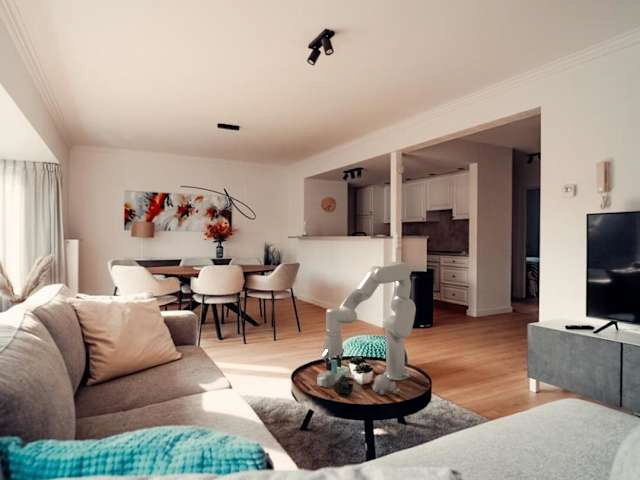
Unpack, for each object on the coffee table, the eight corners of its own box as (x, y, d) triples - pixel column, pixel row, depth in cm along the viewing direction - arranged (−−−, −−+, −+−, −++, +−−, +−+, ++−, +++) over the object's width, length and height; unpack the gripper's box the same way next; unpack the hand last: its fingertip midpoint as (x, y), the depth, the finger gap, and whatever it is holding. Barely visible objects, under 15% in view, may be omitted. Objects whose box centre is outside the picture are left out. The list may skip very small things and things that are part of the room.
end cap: (339, 388, 188) (339, 374, 189) (353, 389, 186) (353, 375, 186) (333, 395, 179) (333, 381, 179) (348, 397, 177) (348, 382, 177)
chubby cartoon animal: (395, 402, 177) (402, 385, 177) (370, 391, 178) (377, 374, 178) (394, 396, 184) (401, 379, 184) (370, 385, 186) (377, 369, 185)
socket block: (349, 378, 201) (349, 367, 201) (342, 381, 197) (342, 370, 197) (339, 375, 206) (339, 364, 206) (331, 378, 201) (331, 367, 201)
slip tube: (337, 379, 197) (337, 360, 197) (321, 385, 188) (321, 366, 189) (333, 377, 199) (333, 359, 199) (317, 384, 191) (317, 364, 191)
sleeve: (334, 383, 194) (334, 373, 194) (325, 387, 189) (325, 376, 189) (327, 381, 197) (327, 370, 197) (317, 384, 192) (317, 374, 192)
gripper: (339, 329, 206) (339, 363, 206) (316, 335, 194) (316, 371, 193) (350, 331, 201) (350, 366, 201) (327, 337, 188) (327, 374, 188)
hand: (333, 368), depth 197 cm, fingers open, 6 cm apart
